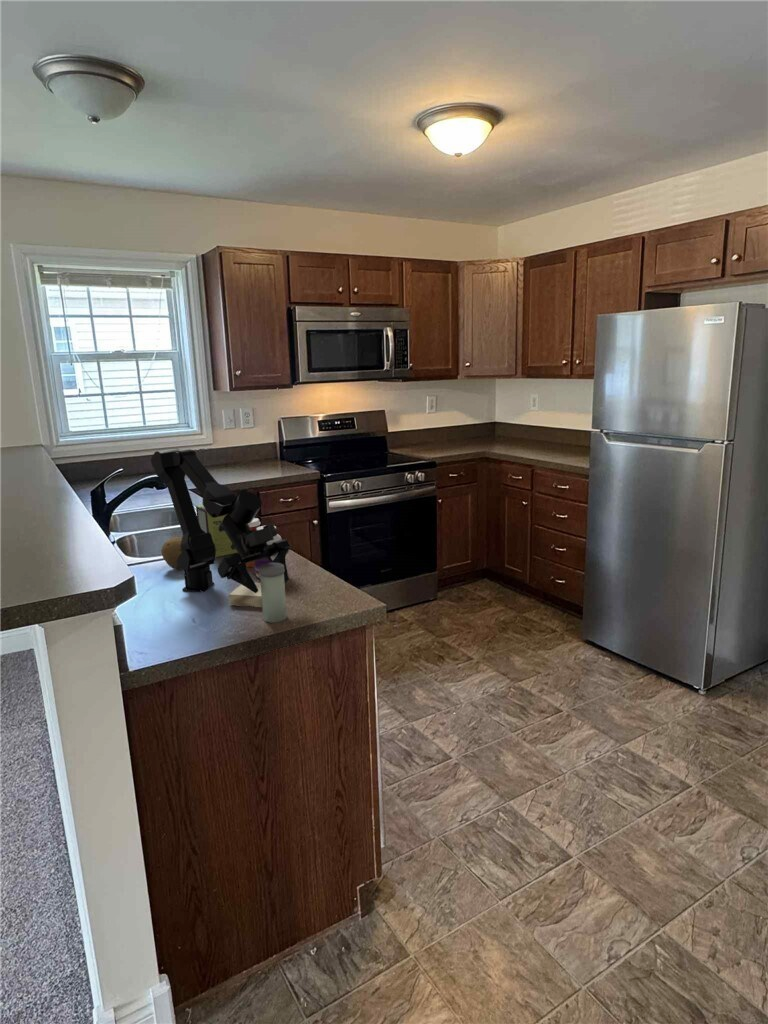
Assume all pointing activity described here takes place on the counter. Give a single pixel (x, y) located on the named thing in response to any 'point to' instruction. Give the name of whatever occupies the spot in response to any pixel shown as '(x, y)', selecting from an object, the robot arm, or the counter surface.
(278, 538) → the pill bottle
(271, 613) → the spice jar
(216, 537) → the protein box
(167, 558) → the natural sponge
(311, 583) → the counter surface
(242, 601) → the maple board
